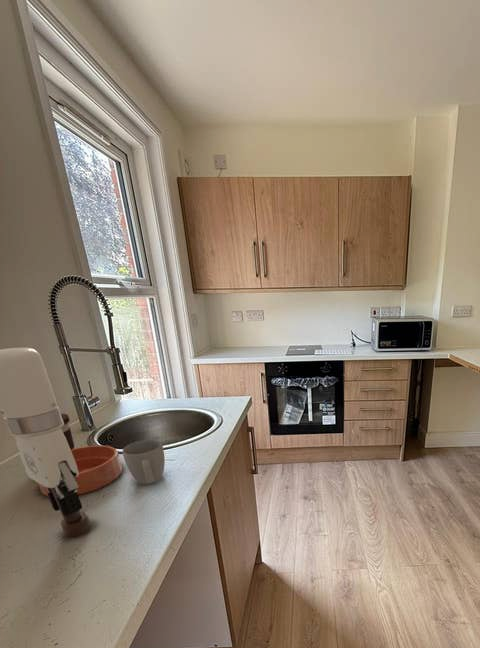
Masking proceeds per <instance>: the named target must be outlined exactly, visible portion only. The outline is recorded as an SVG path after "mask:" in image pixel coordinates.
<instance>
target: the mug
mask: <svg viewBox="0 0 480 648" xmlns="http://www.w3.org/2000/svg"><path fill="white" fill-rule="evenodd" d="M122 456H123V459H124V463H125V465H126V467H127V469H128V471H129V473H130V475H131V476H132V477H133V478H134V479H135V481H136V482H137V483H138V484H140V485H143V486H144V485H151V484H155V483H157V482H159V481H160V480H162V478H163V475H164V471H165V465H166V461H165V459H166V458H165V451H164V446H163V442H162V441H160V440H158V439H142V440H137V441H135V442H132V443H129V444H127V445H126V446H124V447H123V449H122Z"/></svg>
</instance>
